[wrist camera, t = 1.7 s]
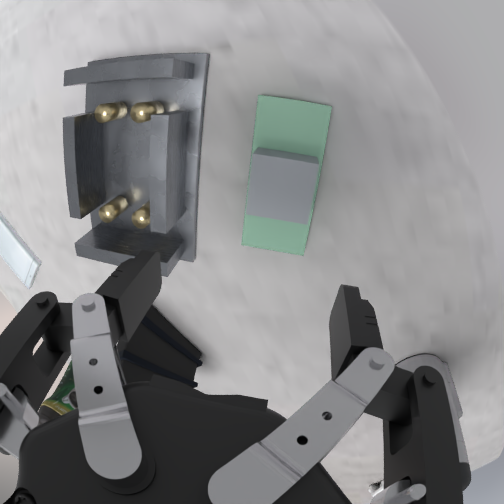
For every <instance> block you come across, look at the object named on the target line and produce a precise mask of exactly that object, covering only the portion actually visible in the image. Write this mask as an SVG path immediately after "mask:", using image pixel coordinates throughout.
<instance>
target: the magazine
mask: <svg viewBox="0 0 504 504" xmlns="http://www.w3.org/2000/svg"><path fill="white" fill-rule="evenodd" d="M117 350H118V354H119V358H120V362H121V366H122V370H123V374H124V377H125V381H126V384H130V383H134V382H143V381H149V382H150V380H151V378H152V376H153V374H155V375H159V376H162V377H166V378H169V379H173V380H176V381H180V382H182V383H184V384H186V385H188V386H190V387H192V388H195V387H197V386H198V383H197V382H194V376H195V372H196V368H197V367H199V366H202V363H203V362H202V361H201V360H199V359H200V356H201V353H200V352H199V351H198V350H197V349H196V348H195V347H194V346H193V345H192V344H191V343H190V342H189V341H187V340H186V339H185V338H184V337H183V336H182V335H181V334H180V333H179V332H178V331H177V330H176V329H175V328H174V327H173V326H172V325H171V324H170V323H169V322H168V321H167V320H166V319H165V318H164V317H163V316H162V315H161V314H160V313H159V312H158V311H157V310H156V309H155V308H154V307H153V306H152V305H151V307H150V308H149V310H148V311H147V313H146V314H145V316H144V318H143V319H142V321H141V322H140V324H139V326H138V327H137V329H136V330H135V332H134V334H133V335H132V337H131V339H130V340H129V342H126V341H122V340H119V341H118V344H117Z"/></svg>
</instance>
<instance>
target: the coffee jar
mask: <svg viewBox="0 0 504 504" xmlns="http://www.w3.org/2000/svg"><path fill="white" fill-rule="evenodd" d="M76 408H78V404H77V397H76V391H75V383H74V375H73V367H72V360H71V362H70V364H69V366H68V368H67V370H66V372H65V374H64V376H63V378H62V380H61V381H60V383H59V385H58V387H57V388H56V390H55V392H54V393H53V395H52V396H51V397H50V398H48V399H46V400H45V401H44V402H43V403H42V405H41V407H40V409H39V412H38V414H39V422H38V425H41V424H43V423H45V422H47V421H50V420H52V419H54V418H56V417H59V416H61V415H63V414H65V413H67V412H69V411H72V410H74V409H76Z"/></svg>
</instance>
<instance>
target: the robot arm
mask: <svg viewBox="0 0 504 504" xmlns="http://www.w3.org/2000/svg"><path fill="white" fill-rule="evenodd" d="M161 284H162V277H161V263H160V254H159V252H155V251H150V250H145V249H143V250H141V251H140V252H139V253H138V254H137V256H136V257H135V258H130V259H128V260H126V261H124V262H122V263H121V264H120V265H119V266H118V267H117V269H116V271H114V272H113V273H112V274H111V276H109V277H108V279H107V280H106V281H105V282H104V283H103V284H102V285H101V286H100V288H99V289H98V290H97V291H96V292H95V293H87V294H84V295H81V296H79V297H78V298H77V299H76V300H75V301H74V302H73V303H58V300H57V297H56V295H55V294H54V293H52V292H41V293H38V294H36V295H35V296H33V297H32V298H31V299H30V300H29V302H28V303H27V304H26V305H25V306H24V307H23V308H22V310H21V311H20V312H19V313H18V314H17V316H16V317H15V318H14V319H13V320H12V321H11V323H10V324H9V325H8V326H7V328H6V329H5V330H4V331H3V332H2V334H1V335H0V452H1V453H3V454H6V455H12V456H14V457H16V458H17V459H18V460H19V475H18V482H17V487H16V489H15V491H14V493H13V495H12V496H11V497H10V498H9V499H8V500H7V501H6V502H5V503H3V504H352V503H351V502H350V501H349V499H348V498H347V497H346V496H345V494H344V493H343V492H342V491H341V489H340V488H339V487H338V485H337V484H336V483H335V481H334V480H333V479H332V478H331V476H330V475H329V474H328V472H327V471H326V470H325V468H324V467H323V466H322V464H321V463H320V462H321V461H322V460H323V459H324V458H325V457H326V456H327V454H328V453H329V452H330V451H331V450H332V449H333V448H334V447H335V446H336V444H337V443H338V442H339V441H340V440H341V439H342V438H343V437H344V435H345V434H346V433H347V432H348V431H349V430H350V428H351V427H352V426H353V425H354V424H355V422H356V421H357V420H358V419H359V418H360V416H361V415H362V414H363V413H367V414H370V415H373V416H376V417H378V418H381V419H383V437H384V490H382V491H381V492H379V493H377V494H376V495H375V496H374V497H373V499H372V500H371V503H370V504H463V494H462V493H463V492H462V491H464V490H465V489H466V488H467V486H469V484H470V481H471V471H470V466H469V461H468V456H467V451H466V446H465V442H464V438H463V434H462V430H461V426H460V422H459V418H460V417H461V416H462V414H463V412H462V408H461V405H460V401H459V398H458V395H457V392H456V388H455V385H454V382H453V379H452V376H451V373H450V370H449V368H448V365H447V363H444V362H442V361H441V360H440V359H439V358H438V357H436V356H434V355H428V354H425V355H418V356H413V357H411V358H408V359H406V360H404V361H402V362H400V363H399V364H397V365H396V366H395V364H394V360H393V358H392V357H391V355H390V354H389V353H387V352H386V351H384V350H383V345H382V341H381V336H380V332H379V328H378V326H377V325H378V323H377V319H376V315H375V311H374V308H373V307H372V305H371V304H370V303H369V301H368V300H363V299H361V296H360V292H359V288H358V287H355V286H348V285H341V286H340V288H339V291H338V294H337V297H336V300H335V303H334V306H333V308H332V311H331V315H330V321H329V330H330V348H331V372H332V380H330V381H329V382H328V383H327V384H326V385H325V386H324V387H322V388H321V389H320V390H319V391H318V392H317V393H316V394H315V395H314V396H313V397H312V398H311V399H310V400H309V401H308V402H307V403H305V404H304V405H303V406H302V407H301V408H300V409H299V410H298V411H297V412H295V413H294V414H293V415H292V416H291V417H290V418H289V419H286V418H284V417H283V416H281V415H280V414H278V413H277V412H275V411H273V410H271V409H268V408H267V403H268V400H265V399H259V398H253V397H248V396H242V395H207V394H204V393H202V392H200V391H198V390H196V389H194V388H192V387H190V386H188V385H186V384H184V383H182V382H180V381H176V380H173V379H169V378H166V377H162V376H159V375H155V374H153V376H152V378H151V380H150V382H149V381H143V382H134V383H130V384H126V381H125V377H124V374H123V370H122V366H121V362H120V358H119V354H118V350H117V346H116V343H117V342H118V340H122V341H126V342H129V340H130V339H131V337H132V335H133V334H134V332H135V330H136V329H137V327H138V326H139V324H140V322H141V321H142V319H143V318H144V316H145V314H146V313H147V311H148V310H149V308H150V307H151V305H152V303H153V302H154V300H155V299H156V297H157V296H158V294H159V292H160V289H161ZM41 337H42V338H43V340H44V341H43V342H42V344H41V345H40V347H39V348H38V350H37V351H36V352H35V354H34V355H33V349H34V347H35V345H36V344H37V342H38V341H39V339H40V338H41ZM70 355H71V357H72V367H73V375H74V383H75V391H76V397H77V404H78V408H76V409H74V410H72V411H69V412H67V413H65V414H63V415H61V416H59V417H56V418H54V419H52V420H50V421H47V422H45V423H43V424H41V425H38V422H39V414H38V410H39V408H40V406H41V404H42V402H43V400H44V399H45V397H46V395H47V393H48V392H49V390H50V388H51V386H52V384H53V383H54V381H55V380H56V378H57V376H58V374H59V373H60V371H61V370H62V368H63V366H64V365H65V363H66V361H67V360H68V358H69V356H70Z"/></svg>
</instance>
